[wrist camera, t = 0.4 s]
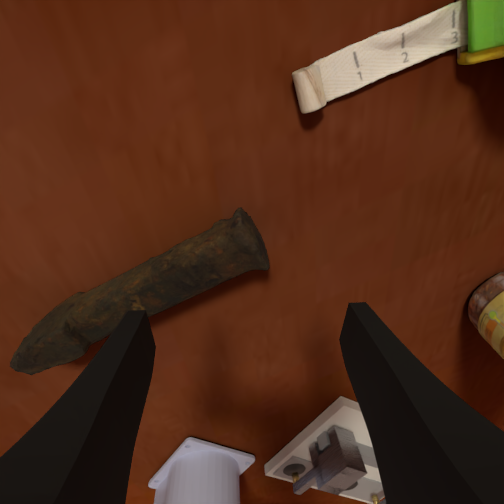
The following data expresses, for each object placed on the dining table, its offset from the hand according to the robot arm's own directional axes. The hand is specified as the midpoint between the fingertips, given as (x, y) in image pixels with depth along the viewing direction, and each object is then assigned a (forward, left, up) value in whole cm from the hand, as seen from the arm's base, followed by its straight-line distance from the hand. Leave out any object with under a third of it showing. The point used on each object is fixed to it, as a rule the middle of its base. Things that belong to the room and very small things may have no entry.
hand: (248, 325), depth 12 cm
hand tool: (-8, +3, -11) cm, 14 cm away
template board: (-17, -26, -11) cm, 33 cm away
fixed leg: (-18, -20, -9) cm, 28 cm away
